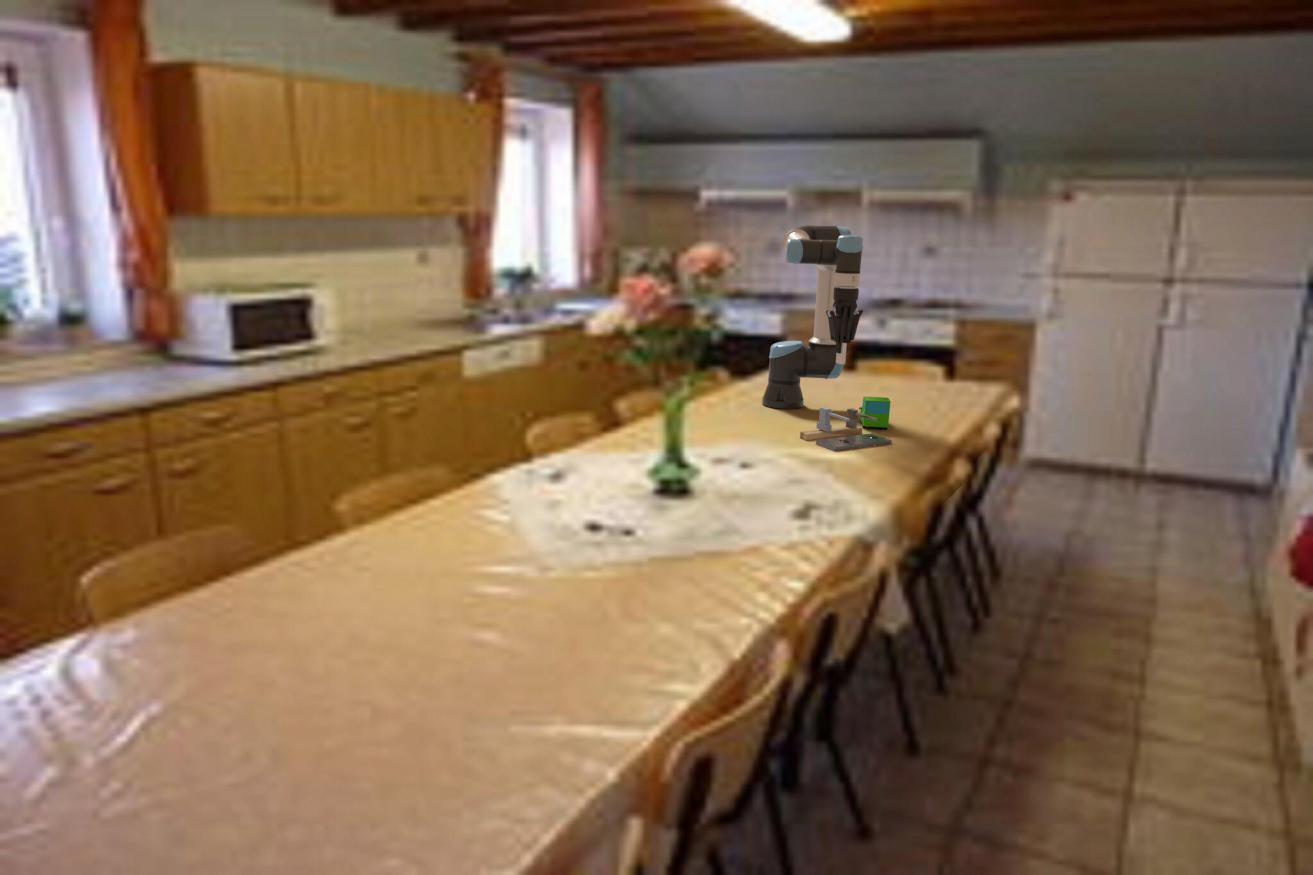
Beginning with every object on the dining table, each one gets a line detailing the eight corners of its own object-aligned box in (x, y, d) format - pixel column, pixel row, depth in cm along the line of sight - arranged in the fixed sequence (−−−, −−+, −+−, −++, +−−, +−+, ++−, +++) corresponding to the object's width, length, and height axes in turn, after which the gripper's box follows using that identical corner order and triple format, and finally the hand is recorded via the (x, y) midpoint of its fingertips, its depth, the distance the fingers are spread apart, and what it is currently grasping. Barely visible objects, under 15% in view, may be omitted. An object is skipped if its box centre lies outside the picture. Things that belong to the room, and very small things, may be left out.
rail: (799, 438, 300) (801, 413, 298) (855, 431, 311) (857, 407, 309) (825, 447, 289) (827, 422, 287) (882, 440, 300) (885, 416, 298)
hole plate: (815, 443, 293) (815, 440, 293) (872, 436, 304) (872, 433, 304) (834, 451, 286) (834, 447, 285) (891, 443, 297) (892, 439, 296)
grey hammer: (816, 428, 304) (817, 407, 302) (821, 427, 305) (822, 406, 303) (844, 438, 292) (846, 416, 290) (849, 437, 293) (851, 415, 291)
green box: (885, 422, 326) (888, 393, 324) (891, 431, 313) (893, 401, 311) (856, 420, 327) (858, 392, 325) (859, 429, 314) (862, 400, 312)
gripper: (837, 288, 282) (831, 366, 288) (871, 287, 288) (864, 364, 294) (821, 286, 288) (816, 362, 294) (854, 285, 294) (848, 360, 300)
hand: (840, 363), depth 294 cm, fingers closed
